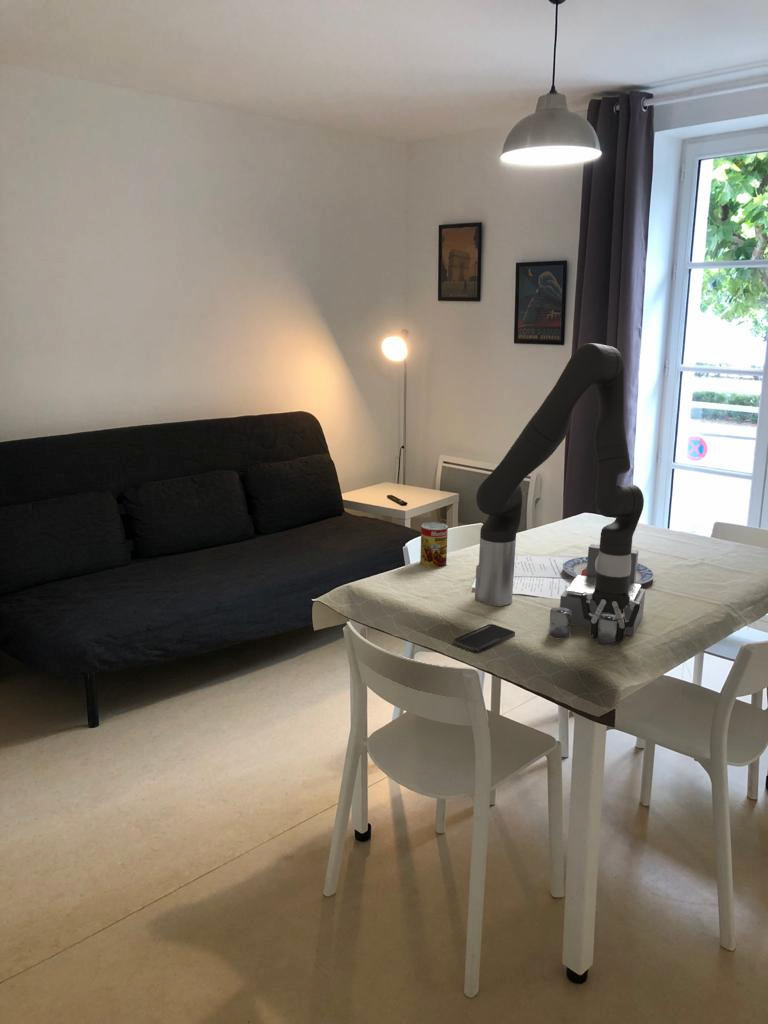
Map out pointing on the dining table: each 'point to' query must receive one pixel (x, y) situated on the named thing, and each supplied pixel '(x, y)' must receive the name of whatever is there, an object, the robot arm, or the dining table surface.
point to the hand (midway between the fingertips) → (607, 639)
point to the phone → (484, 638)
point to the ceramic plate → (580, 568)
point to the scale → (574, 601)
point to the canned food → (433, 545)
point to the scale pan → (588, 586)
